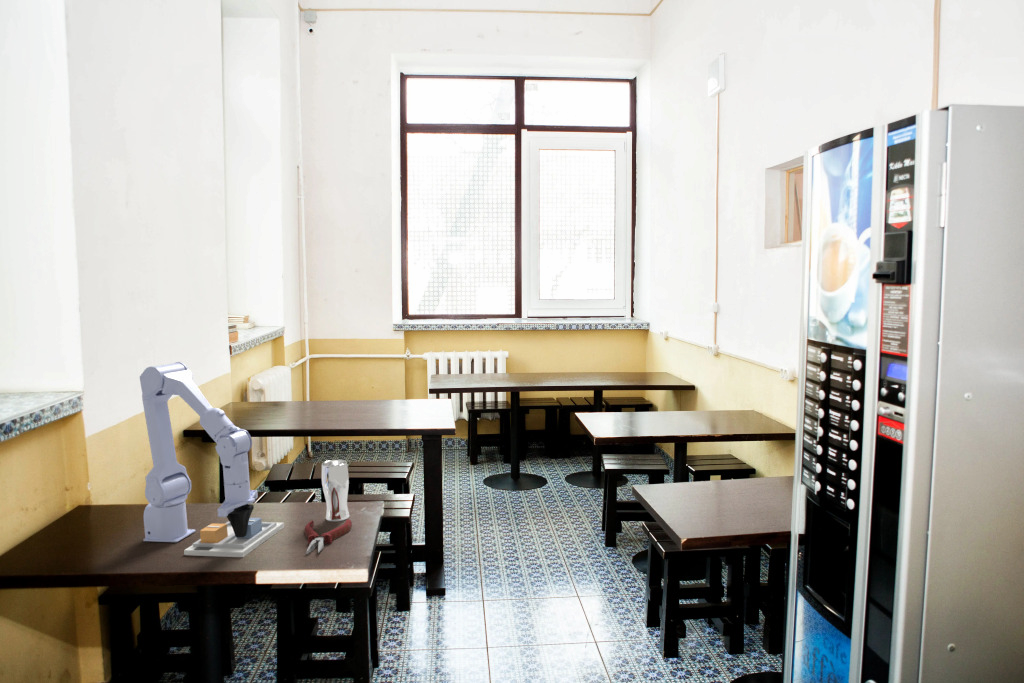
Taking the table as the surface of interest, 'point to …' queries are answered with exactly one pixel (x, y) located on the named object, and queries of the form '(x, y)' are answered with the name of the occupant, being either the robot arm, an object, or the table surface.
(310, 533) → the pliers
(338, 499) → the beer glass
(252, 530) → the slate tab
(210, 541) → the orange white-striped block
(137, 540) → the table surface
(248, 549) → the white flat tray
